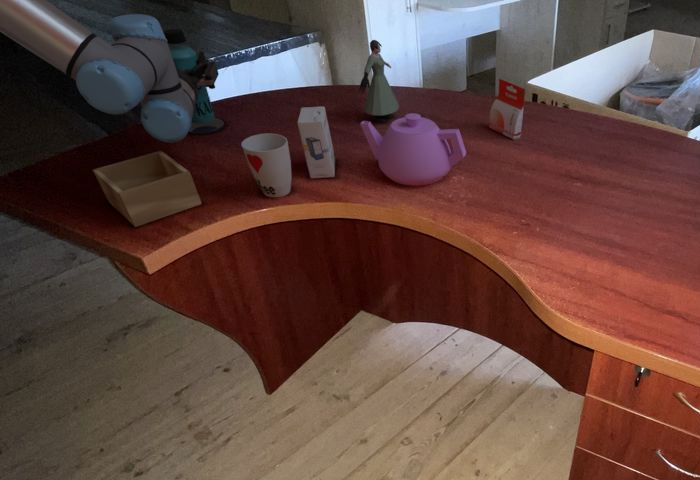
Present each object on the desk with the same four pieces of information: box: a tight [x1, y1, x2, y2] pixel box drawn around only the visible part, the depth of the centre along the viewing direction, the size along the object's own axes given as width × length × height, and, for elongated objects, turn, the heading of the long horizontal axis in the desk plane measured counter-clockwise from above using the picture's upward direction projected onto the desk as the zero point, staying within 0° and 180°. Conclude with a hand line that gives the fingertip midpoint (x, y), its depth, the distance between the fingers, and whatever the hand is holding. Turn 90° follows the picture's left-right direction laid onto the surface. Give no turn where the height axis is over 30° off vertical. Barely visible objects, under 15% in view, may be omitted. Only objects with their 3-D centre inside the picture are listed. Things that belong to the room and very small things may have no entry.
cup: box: [241, 133, 293, 198], centre depth 104 cm, size 8×8×10 cm
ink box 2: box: [488, 78, 526, 140], centre depth 129 cm, size 3×9×12 cm, turn 42°
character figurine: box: [358, 39, 400, 123], centre depth 129 cm, size 16×8×18 cm, turn 163°
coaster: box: [187, 117, 225, 135], centre depth 127 cm, size 9×9×1 cm
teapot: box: [359, 112, 467, 187], centre depth 112 cm, size 22×16×12 cm
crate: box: [92, 150, 202, 228], centre depth 100 cm, size 12×12×6 cm
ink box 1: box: [296, 105, 336, 179], centre depth 111 cm, size 9×5×12 cm, turn 10°
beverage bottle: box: [162, 28, 216, 123], centre depth 120 cm, size 6×7×20 cm
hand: (186, 58), depth 122 cm, fingers closed on beverage bottle, 6 cm apart
